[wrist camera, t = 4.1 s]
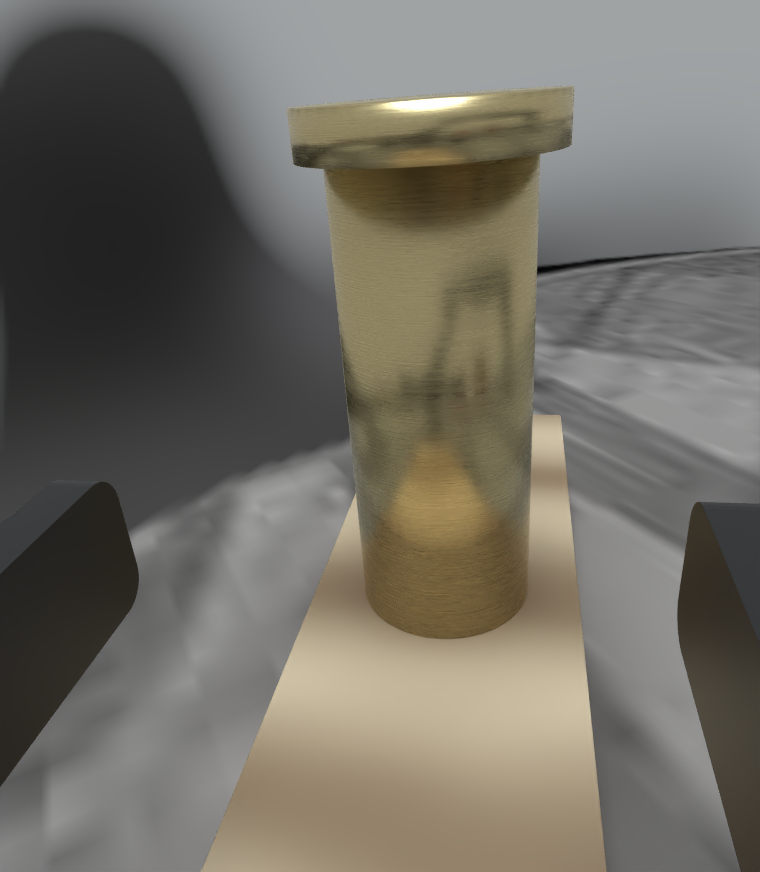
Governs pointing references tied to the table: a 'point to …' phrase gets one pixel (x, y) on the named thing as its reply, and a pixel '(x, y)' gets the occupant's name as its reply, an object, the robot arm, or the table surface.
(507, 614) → the brass flanged cylinder
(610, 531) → the table surface
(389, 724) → the body
